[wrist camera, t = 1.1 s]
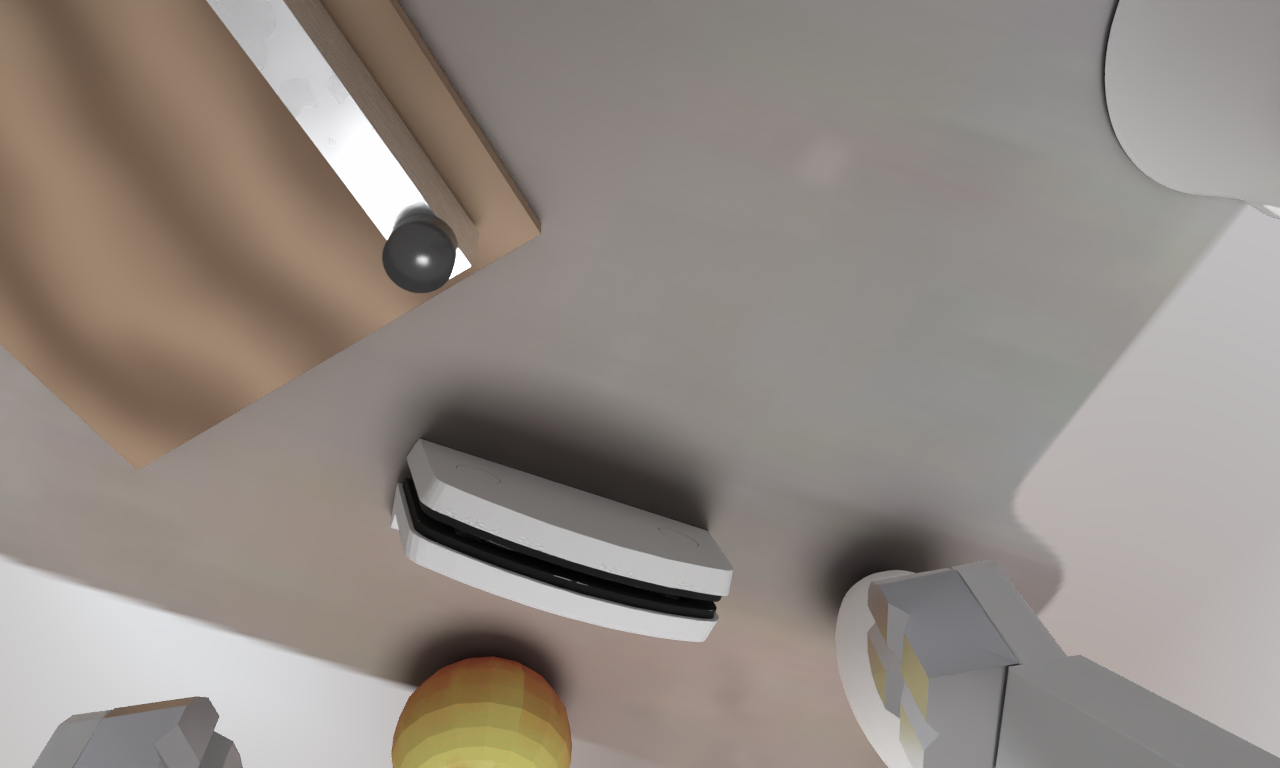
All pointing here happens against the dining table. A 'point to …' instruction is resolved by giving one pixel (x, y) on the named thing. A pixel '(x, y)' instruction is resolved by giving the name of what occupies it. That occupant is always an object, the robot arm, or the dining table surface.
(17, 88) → the wooden cutting board
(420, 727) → the apple
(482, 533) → the white slotted block
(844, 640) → the white tall oval piece
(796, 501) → the dining table surface
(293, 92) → the lock bar
